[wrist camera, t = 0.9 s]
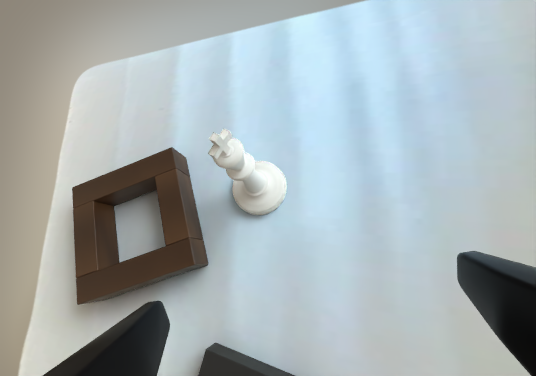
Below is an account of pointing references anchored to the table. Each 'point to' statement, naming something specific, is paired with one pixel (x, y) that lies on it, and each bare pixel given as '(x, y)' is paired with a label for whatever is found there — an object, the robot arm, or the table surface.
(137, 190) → the frame
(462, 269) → the robot arm
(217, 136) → the chess piece
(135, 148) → the table surface
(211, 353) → the push button base
